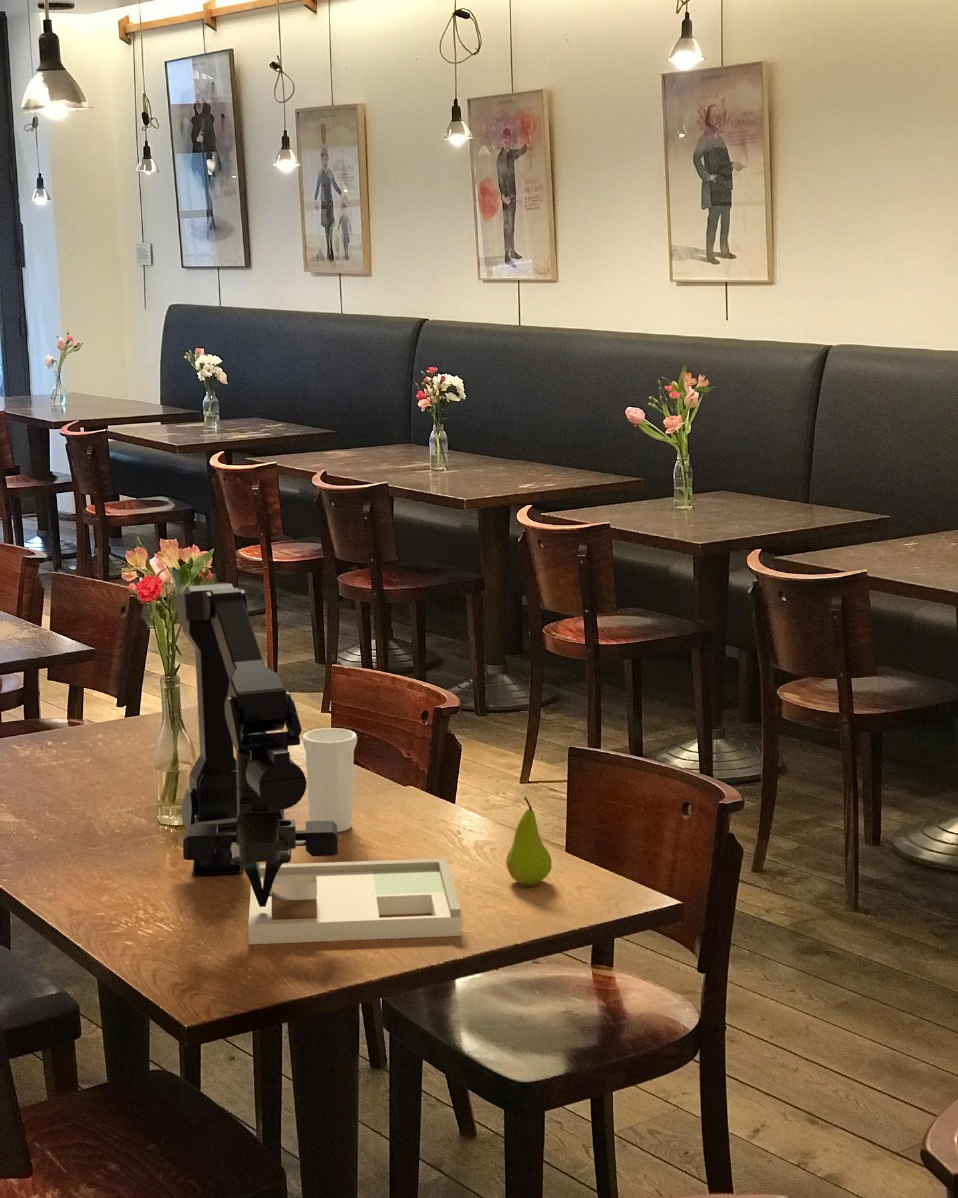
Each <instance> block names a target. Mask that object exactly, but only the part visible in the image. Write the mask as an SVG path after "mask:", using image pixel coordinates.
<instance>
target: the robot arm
mask: <svg viewBox="0 0 958 1198" xmlns="http://www.w3.org/2000/svg"><path fill="white" fill-rule="evenodd" d="M183 592H184V593H181V594H178V595H177V597H176V613H177V618H178V620H179V621H180V622H181V628H182V629H181V630H182V632H183V633H184V635H185V637H186V638H187V639H188V641H189V642H190V644H191V646H192V647H193V648H194V650H195V653H194V654H195V670H196V671H195V673H196V691H197V692H196V693H197V695H196V696H197V715H198V735H199V736H198V737H199V739H198V740H199V756H198V757H197V760H196V761H195V763H194V765H193V767H192V768H191V770H190V772H189V776H188V779H189V780H188V781H189V782H188V783H189V784H188V786H189V788H187V789H186V791H185V794H184V797H183V800H182V804H181V808H180V810H181V812H180V813H181V820H182V825H183V826H184V827H185V830H184V836H183V842H182V844H183V845H182V851H183V852H182V855H183V856H182V859H183V860H187V861H193V865H192V868H191V869H192V871H191V874H192V876H213V875H214V876H216V875H239V874H241V868H242V870H243V871H244V872H245V874H246V876H247V878H248V880H249V883H250V886H251V885H252V888H253V891H254V893H255V896H256V899H257V901H258V904H259V906H260V907H265V906H266V904H267V900H268V897H270V895H269V894H270V891H271V888H272V884H273V881H274V878H275V876H276V874H277V872H278V870H279V868H280V867H281V865H282V864H290V863H291V861H292V850H295V849H296V847H305V851H306V852H307V853H308V855H310V856H311V857H335V856H337V855H338V854H339V853H338V852H339V848H338V847H339V839H338V838H339V837H338V836H339V835H338V832H337V825H336V824H335V823H334V822H333V821H310V820H305V829H303V830H301V829H299V830H297V829H296V819H294V818H293V819H292V818H291V819H285V810H287V809H289V808H292V807H294V806H295V805H297V804H298V803H299V802H300V801H301V800H302V798H303V797H304V795H305V793H306V791H307V786H308V784H307V777H306V776H305V772H304V771H303V769H302V768H301V767H300V766H299V765H297V764H296V763H295V762H294V761H293V760H292V758H291V756H290V755H291V754H290V752H289V747H291V746H300V745H301V740H300V736H301V734H302V725H301V722H300V719H299V715H298V711H297V707H296V704H295V701H294V700H293V699H292V695H291V693H290V692H289V691H287V689H286V687H285V686H284V683H283V681H282V678H281V677H280V675H279V674H278V673H277V672H275V671H274V670H272V668H271V669H270V668H269V667H268V666H266V664H265V661H264V659H263V656H262V653H261V650H260V647H259V643H258V642H257V637H256V635H255V631H254V629H253V626H252V622H251V620H250V617H249V613H248V598H247V589H240V588H238V587H234V586H233V584H232V583H231V582H230V583H228V582H227V583H217V584H201V585H187V586H185V588H184V591H183ZM285 727H286V729H287V731H283V729H284V728H285ZM275 731H277V732H275ZM278 731H279V732H278ZM269 732H270V733H269ZM234 749H235V753H234ZM234 754H235V755H234ZM260 863H265V865H266V866H265V874H264V883H263V889H262V881H261V874H260V867H259V865H260Z"/></svg>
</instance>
